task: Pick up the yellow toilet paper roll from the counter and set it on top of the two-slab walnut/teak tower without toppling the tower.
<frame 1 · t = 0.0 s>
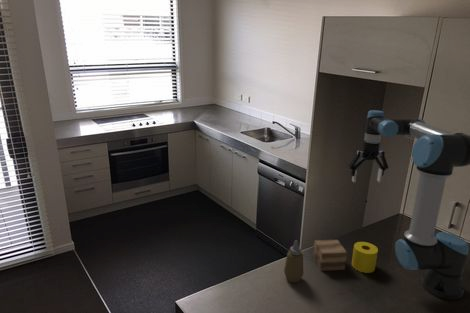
hand: (366, 181, 185), 28 cm above the table, fingers open, 13 cm apart
squeeze bottle: (293, 279, 152), on the table
yellow toilet paper roll: (363, 266, 162), on the table
tower block bottom: (328, 263, 164), on the table, touching tower block top
tower block top: (329, 255, 162), point 4 cm above the table, touching tower block bottom
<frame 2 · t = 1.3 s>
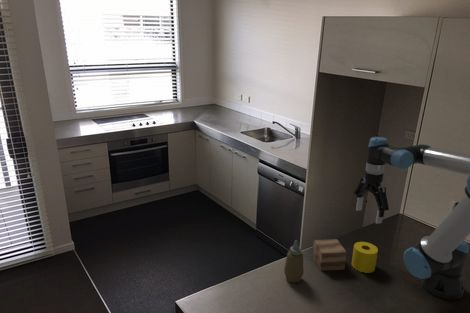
hand: (368, 216, 164), 20 cm above the table, fingers open, 13 cm apart
nothing on the table moved.
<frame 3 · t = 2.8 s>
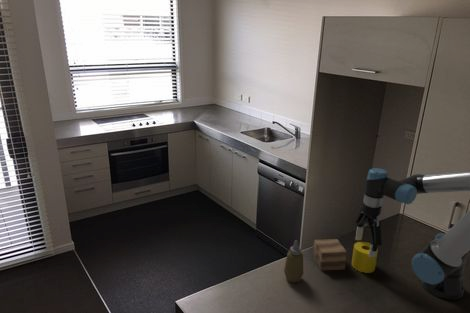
hand: (364, 247, 159), 9 cm above the table, fingers open, 13 cm apart
nothing on the table moved.
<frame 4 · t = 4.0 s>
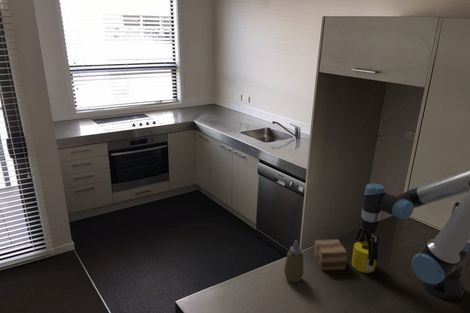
hand: (363, 263, 161), 1 cm above the table, fingers closed on yellow toilet paper roll, 10 cm apart
yellow toilet paper roll: (363, 266, 162), on the table, touching gripper
everything else where it was.
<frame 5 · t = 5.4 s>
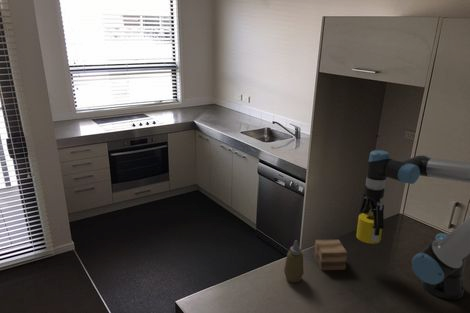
hand: (368, 235, 157), 16 cm above the table, fingers closed on yellow toilet paper roll, 10 cm apart
yellow toilet paper roll: (368, 238, 157), point 14 cm above the table, touching gripper
everything else where it was.
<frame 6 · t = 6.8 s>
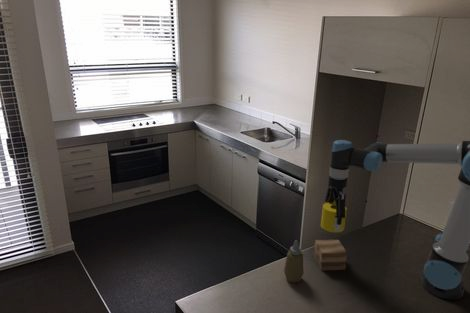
hand: (332, 224, 158), 19 cm above the table, fingers closed on yellow toilet paper roll, 10 cm apart
yellow toilet paper roll: (332, 227, 158), point 18 cm above the table, touching gripper
tower block bottom: (328, 263, 164), on the table
tower block top: (329, 254, 162), point 4 cm above the table
everything else where it was.
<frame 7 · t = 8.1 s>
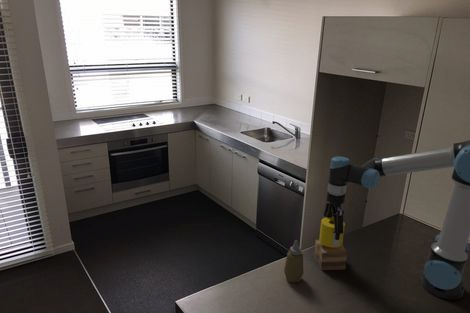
hand: (331, 239, 160), 12 cm above the table, fingers closed on yellow toilet paper roll, 10 cm apart
yellow toilet paper roll: (330, 241, 160), point 11 cm above the table, touching gripper
tower block bottom: (329, 263, 164), on the table, touching tower block top
tower block top: (329, 254, 162), point 4 cm above the table, touching tower block bottom
everything else where it was.
when the fingers open (12 cm above the table, at t = 8.5 s): yellow toilet paper roll drops 3 cm, resting on tower block top.
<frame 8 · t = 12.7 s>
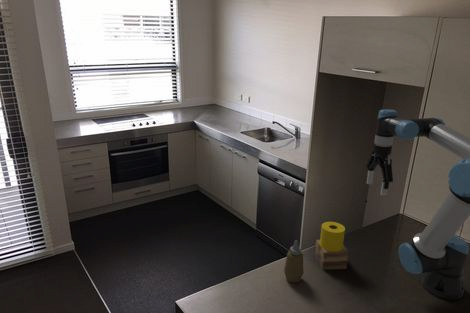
hand: (376, 189, 166), 32 cm above the table, fingers open, 13 cm apart
yellow toilet paper roll: (331, 246, 162), point 8 cm above the table, touching tower block top
tower block top: (330, 254, 163), point 4 cm above the table, touching yellow toilet paper roll, tower block bottom
everything else where it was.
at the end: yellow toilet paper roll inside the target area on the tower block top (0.4 cm from its centre), point 4.3 cm above the tower block top's base; tower block top tilted 0°; the gripper is holding nothing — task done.
